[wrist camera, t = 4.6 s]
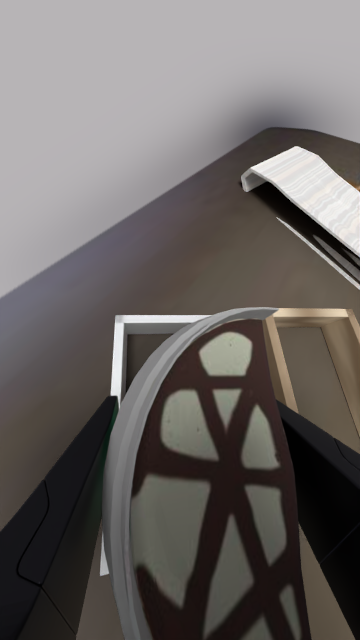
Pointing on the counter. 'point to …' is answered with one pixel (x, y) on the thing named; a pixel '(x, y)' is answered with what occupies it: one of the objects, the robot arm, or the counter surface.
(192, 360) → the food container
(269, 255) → the counter surface
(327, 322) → the tan wooden u-shaped piece
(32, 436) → the counter surface
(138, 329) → the white frame
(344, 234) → the long white curved panel
